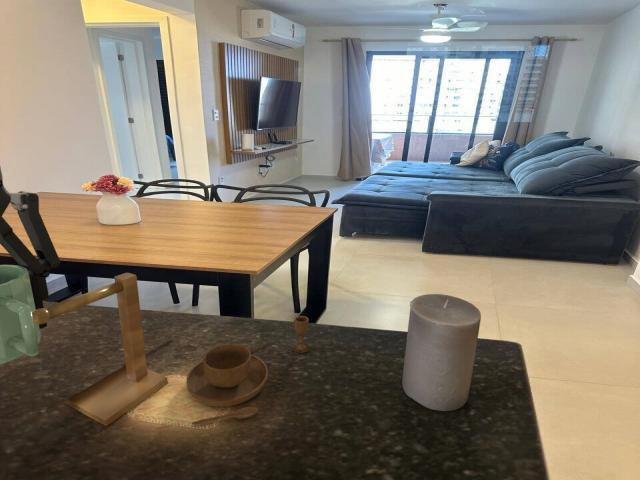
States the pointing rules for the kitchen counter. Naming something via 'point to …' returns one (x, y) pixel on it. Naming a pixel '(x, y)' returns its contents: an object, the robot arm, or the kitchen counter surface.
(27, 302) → the mug
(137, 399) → the mug stand
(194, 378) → the place setting
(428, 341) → the pillar candle
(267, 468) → the kitchen counter surface
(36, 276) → the robot arm
